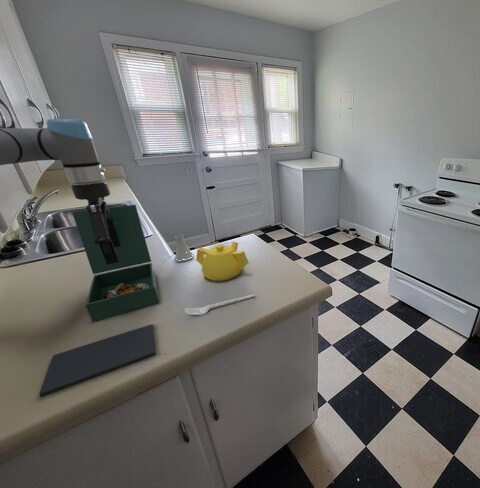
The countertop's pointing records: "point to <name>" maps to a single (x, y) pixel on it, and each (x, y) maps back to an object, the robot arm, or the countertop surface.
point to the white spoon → (205, 309)
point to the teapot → (221, 262)
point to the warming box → (124, 302)
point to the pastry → (124, 290)
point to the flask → (182, 249)
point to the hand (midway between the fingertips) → (114, 254)
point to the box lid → (128, 234)
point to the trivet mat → (98, 358)
